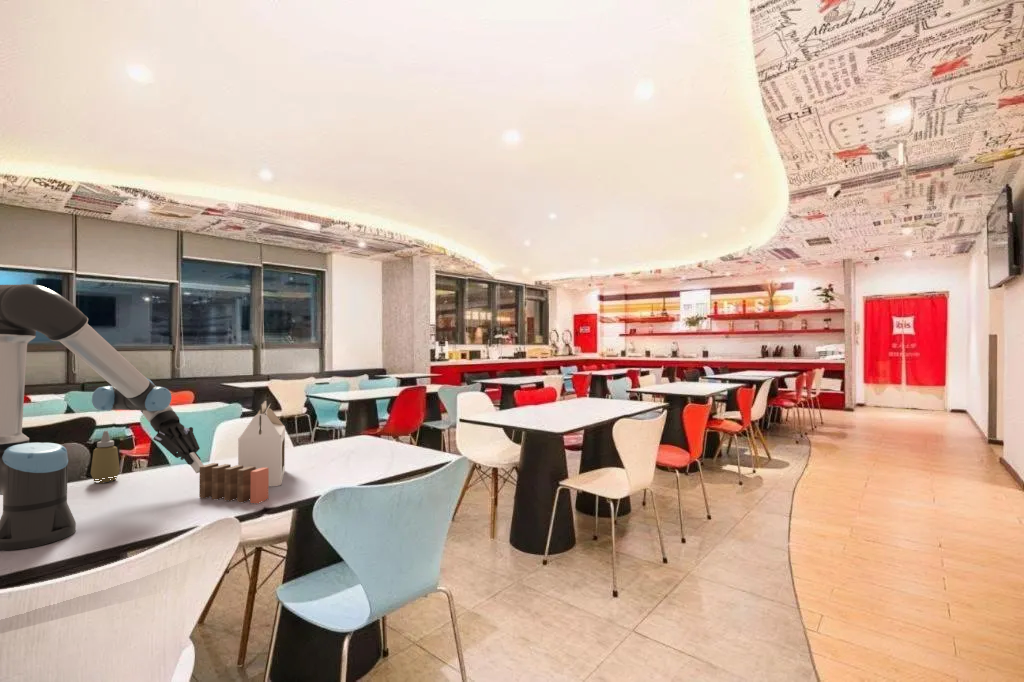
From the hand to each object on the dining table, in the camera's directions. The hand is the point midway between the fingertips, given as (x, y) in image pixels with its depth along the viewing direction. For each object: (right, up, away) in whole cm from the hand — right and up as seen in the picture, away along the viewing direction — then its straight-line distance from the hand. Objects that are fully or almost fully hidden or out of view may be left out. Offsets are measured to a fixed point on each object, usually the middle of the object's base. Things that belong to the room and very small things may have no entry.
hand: (200, 470), depth 159 cm
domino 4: (+18, -8, -5) cm, 20 cm away
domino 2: (+8, -8, -3) cm, 12 cm away
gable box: (+11, -9, +18) cm, 23 cm away
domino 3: (+13, -8, -4) cm, 16 cm away
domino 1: (+3, -8, -1) cm, 9 cm away
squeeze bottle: (-43, -8, +14) cm, 46 cm away
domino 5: (+23, -8, -7) cm, 25 cm away
